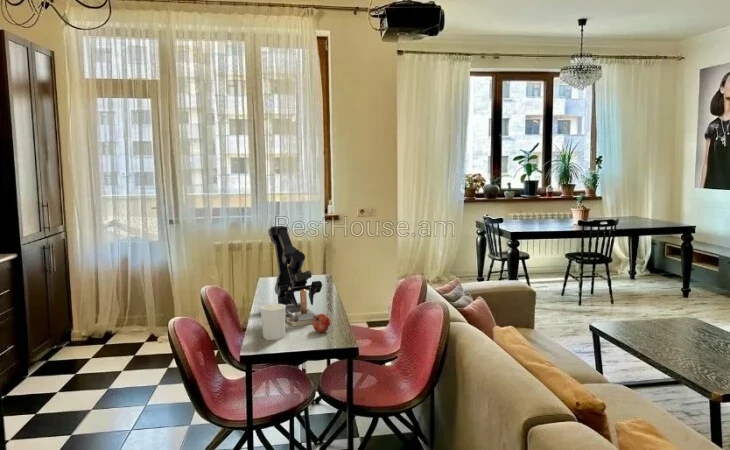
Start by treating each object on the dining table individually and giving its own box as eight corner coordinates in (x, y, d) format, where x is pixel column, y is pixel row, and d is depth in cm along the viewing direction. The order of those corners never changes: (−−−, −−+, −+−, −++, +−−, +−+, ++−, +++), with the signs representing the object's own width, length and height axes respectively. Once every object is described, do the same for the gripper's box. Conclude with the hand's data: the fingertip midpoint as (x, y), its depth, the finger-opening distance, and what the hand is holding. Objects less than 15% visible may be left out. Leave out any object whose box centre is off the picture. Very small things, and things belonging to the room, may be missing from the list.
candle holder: (265, 342, 192) (264, 311, 191) (258, 335, 201) (256, 305, 199) (290, 338, 197) (289, 307, 195) (282, 331, 205) (281, 302, 204)
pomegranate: (318, 333, 208) (303, 323, 201) (327, 317, 210) (312, 307, 204) (330, 339, 203) (315, 329, 196) (339, 322, 205) (325, 312, 198)
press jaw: (295, 318, 217) (293, 289, 215) (310, 316, 219) (309, 287, 218) (298, 321, 213) (296, 291, 212) (313, 318, 216) (312, 289, 214)
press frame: (281, 315, 229) (280, 305, 228) (307, 311, 233) (306, 301, 233) (292, 326, 212) (291, 315, 211) (319, 321, 216) (319, 311, 216)
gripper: (277, 266, 214) (286, 298, 205) (320, 262, 221) (329, 292, 212) (274, 281, 222) (282, 312, 213) (315, 277, 229) (324, 306, 220)
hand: (304, 305), depth 214 cm, fingers open, 6 cm apart
